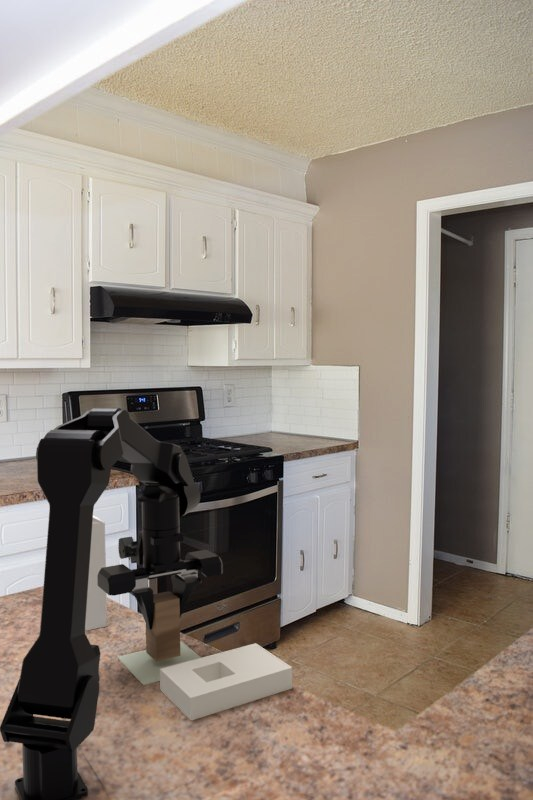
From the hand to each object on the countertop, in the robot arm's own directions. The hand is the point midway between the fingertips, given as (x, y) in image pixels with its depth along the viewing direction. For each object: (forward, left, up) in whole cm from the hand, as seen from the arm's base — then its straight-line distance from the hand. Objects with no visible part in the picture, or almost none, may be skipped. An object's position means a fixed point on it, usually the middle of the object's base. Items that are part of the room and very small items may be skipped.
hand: (162, 625), depth 105 cm
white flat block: (-13, -4, -6) cm, 15 cm away
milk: (+23, +5, -6) cm, 24 cm away
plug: (0, 0, -4) cm, 4 cm away
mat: (0, 0, -6) cm, 6 cm away
